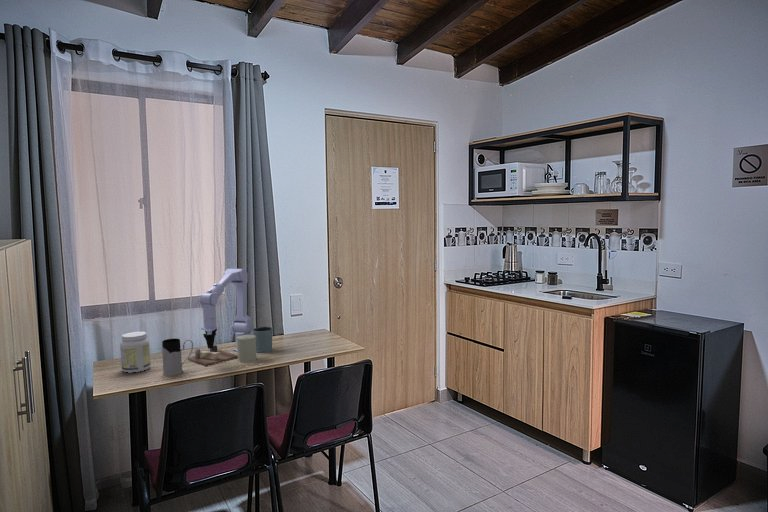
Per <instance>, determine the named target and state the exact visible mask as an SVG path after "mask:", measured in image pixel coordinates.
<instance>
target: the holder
mask: <svg viewBox="0 0 768 512" xmlns="http://www.w3.org/2000/svg"><path fill="white" fill-rule="evenodd" d="M186 342H190V343H191V350H190V353H189V354H188V356H187V357H186V358H185V359H184V360H183V359H182V351H184V350H185V344H186ZM161 343H162V344H161V353H162V368H163V369H162V371H163V372H162V376H164V375H166V376H165V377H173V376H178V375H180V373H181V374H182V372H183V373H184V370H183V365H184V363H185V362H186V361H188V358H190V356H191V355H192V352H193V349H194V342H193V341H192V340H190V339H186V340H184V341H183V344H182V349H181V339H180V338H167V339H163V340H162V341H161ZM182 360H183V361H182ZM177 374H178V375H177ZM172 375H173V376H172Z"/></svg>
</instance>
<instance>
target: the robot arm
mask: <svg viewBox="0 0 768 512" xmlns="http://www.w3.org/2000/svg"><path fill="white" fill-rule="evenodd" d="M248 276H249V275H248V271H247V270H246V269H245V268H226V270H225V271H224V274H223V276H222V278H221V279H220V280H219V282H218V283H217V282H216V283H213V284H212V286H211V287H209V289H208V290H207V291H206V292H203V293H202V294H201V295H200V296H199V300H198V301H199V303H200V306H201V309H202V317H203V319H202V320H203V321H202V322H203V327H200V329H201V331H202V330H204V333H203V334H202V336H203V338H204V339H205V342H206V346H207V349H208V350H210V348H213V346H214V344H215V338H216V336H217V333H216V332H217V330H218V327H217V311H216V310H217V309H216V307H217V306H216V305H217V304H218V301H219V299H220V296H221V295H222V294H223V293H224V292H225V288H226V287H227V286H228V285H229V284H230V283H232V284H234V286H235V289H236V292H235V293H236V294H235V296H236V298H235V299H236V300H235V302H236V304H235V305H236V315H235V316H234V317H233V318H232V323H231V328H230V329H231V331H232V332H233V334H234V335H235V348H233V349H232V351H234V350H235V352H238V349H237V337H238V336H241V335H253V329H254V325H253V321H252V320H253V319H252V317H250V316H249V315H248V314H247V313H248V308H247V307H248V306H247V303H248V301H247V294H248V293H247V292H248V291H247V290H248V289H247V284H248V278H249V277H248Z"/></svg>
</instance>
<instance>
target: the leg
mask: <svg viewBox="0 0 768 512" xmlns="http://www.w3.org/2000/svg"><path fill="white" fill-rule="evenodd" d="M200 358H205V359H214V360H217V359H219V353H218V352H210V351H208V350H207V351H205V350H202V351H200Z"/></svg>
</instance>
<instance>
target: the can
mask: <svg viewBox="0 0 768 512" xmlns="http://www.w3.org/2000/svg"><path fill="white" fill-rule="evenodd" d="M237 349H238V351H237V355H238V358H237V362H238V361H240V362H239V363H250V362H249V361H252V362H255V361H257V360H256V359H258V357H257V353H256V336H255V335H241V336H238V337H237ZM254 360H255V361H254Z"/></svg>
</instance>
